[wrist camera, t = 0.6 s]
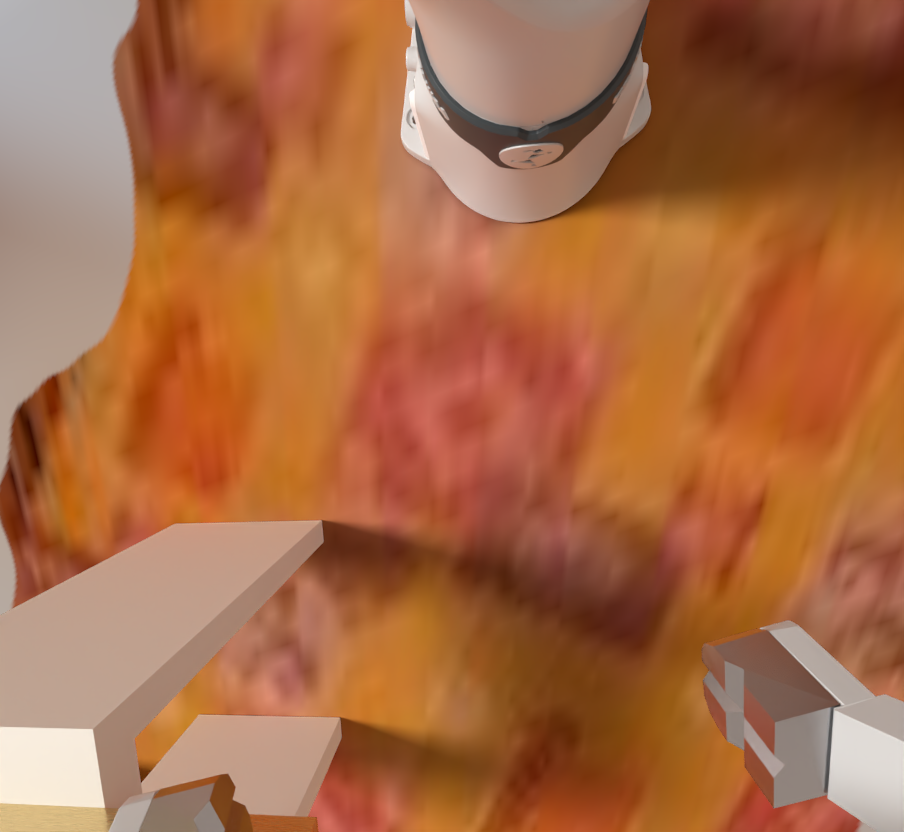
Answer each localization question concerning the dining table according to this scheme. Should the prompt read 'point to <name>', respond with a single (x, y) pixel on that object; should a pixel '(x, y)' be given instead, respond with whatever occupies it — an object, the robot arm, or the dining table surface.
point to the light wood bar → (87, 828)
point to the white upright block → (153, 674)
